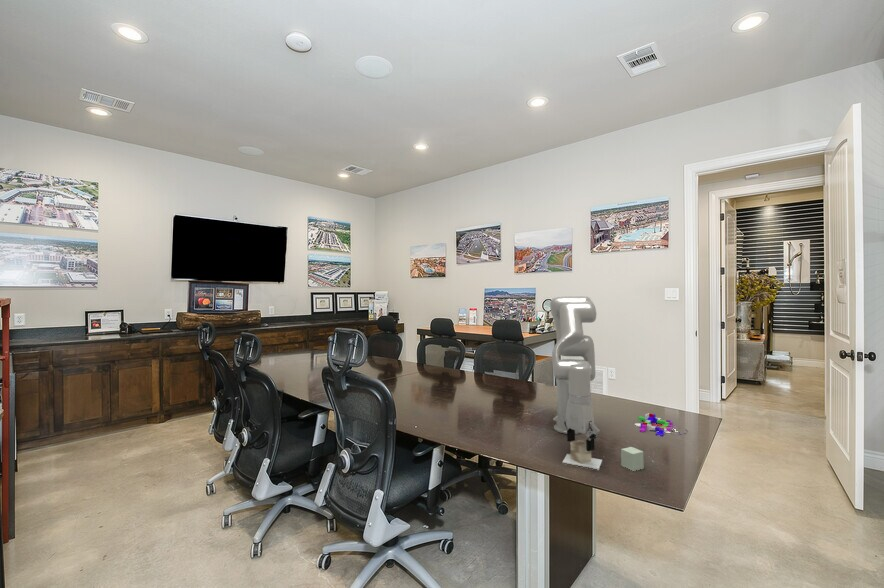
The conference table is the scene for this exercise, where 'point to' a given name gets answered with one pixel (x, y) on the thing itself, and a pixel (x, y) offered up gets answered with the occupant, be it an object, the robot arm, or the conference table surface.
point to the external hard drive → (592, 464)
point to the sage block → (632, 458)
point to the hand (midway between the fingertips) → (580, 445)
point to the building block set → (651, 420)
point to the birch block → (580, 452)
